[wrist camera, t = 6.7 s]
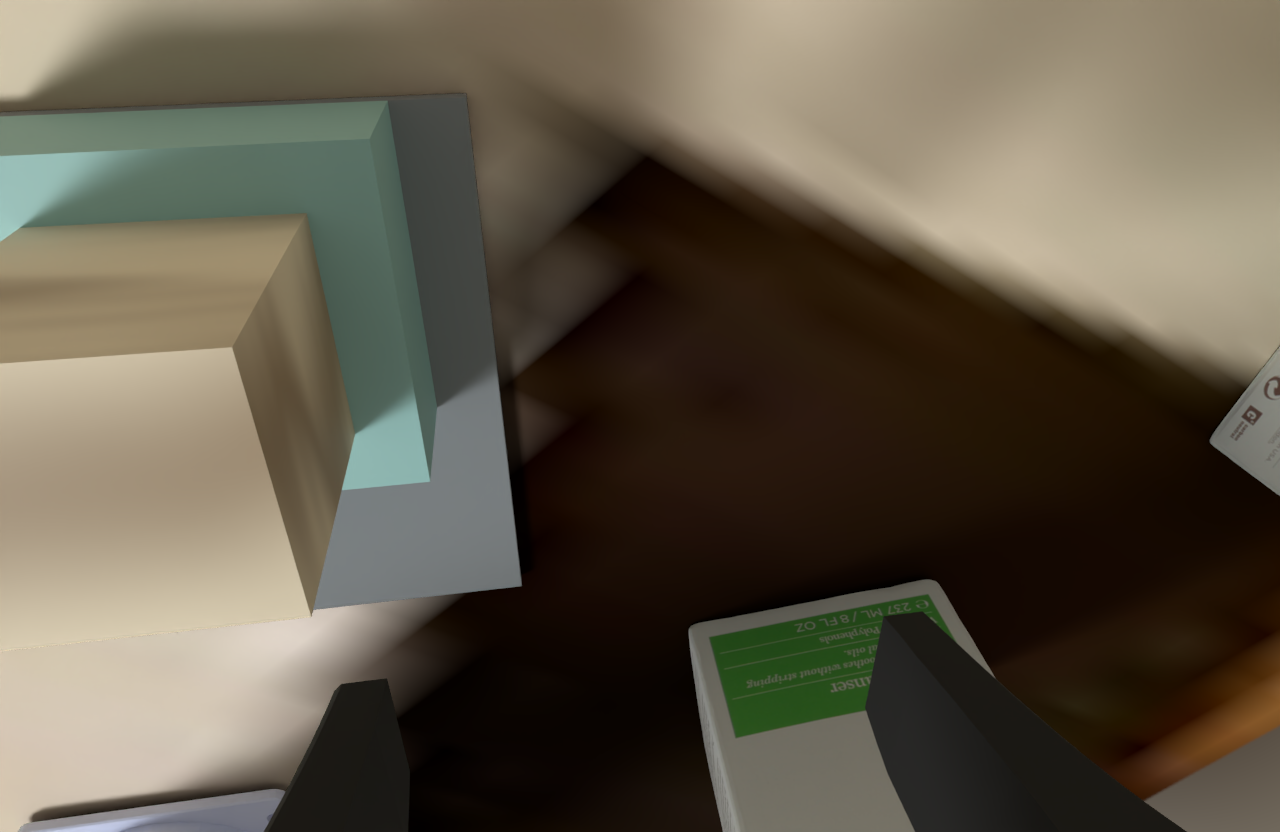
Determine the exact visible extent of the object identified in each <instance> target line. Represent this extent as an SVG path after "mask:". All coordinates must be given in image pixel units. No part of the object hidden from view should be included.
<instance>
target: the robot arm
mask: <svg viewBox="0 0 1280 832" xmlns="http://www.w3.org/2000/svg"><path fill="white" fill-rule="evenodd" d="M865 709H866V712H867V715H868V718H869V721H870V724H871V727H872V730H873V733H874V736H875V739H876V742H877V745H878V748H879V751H880V754H881V756H882V759H883V762H884V765H885V768H886V770H887V773H888V776H889V778H890V780H891V782H892V784H893V786H894V789H895V791H896V793H897V795H898V797H899V799H900V801H901V803H902V805H903V808H904V810H905V812H906V814H907V816H908V818H909V820H910V822H911V824H912V826H913V829H914V831H915V832H1186V831H1185V830H1183V829H1182V828H1181V827H1179V826H1178V825H1176V824H1175V823H1174V822H1172V821H1171V820H1169V819H1168V818H1166V817H1165V816H1164V815H1162V814H1161V813H1159V812H1158V811H1157V810H1155V809H1154V808H1152V807H1151V806H1149V805H1148V804H1147V803H1145V802H1144V801H1143V800H1141V799H1140V798H1138V797H1137V796H1136V795H1134V794H1133V793H1132V792H1130V791H1129V790H1128V789H1126V788H1125V787H1124V786H1122V785H1121V784H1120V783H1119V782H1117V781H1116V780H1115V779H1113V778H1112V777H1111V776H1110V775H1108V774H1107V773H1106V772H1105V771H1103V770H1102V769H1101V768H1100V767H1098V766H1097V765H1096V764H1094V763H1093V762H1092V761H1091V760H1089V759H1088V758H1087V757H1086V756H1084V755H1083V754H1082V753H1081V752H1079V751H1078V750H1077V749H1076V748H1075V747H1073V746H1072V745H1071V744H1070V743H1069V742H1067V741H1066V740H1065V739H1064V738H1063V737H1061V736H1060V735H1059V734H1058V733H1057V732H1055V731H1054V730H1053V729H1052V728H1051V727H1050V726H1049V725H1047V724H1046V723H1045V722H1044V721H1043V720H1042V719H1041V718H1039V717H1038V716H1037V715H1036V714H1035V713H1034V712H1032V711H1031V710H1030V709H1029V708H1028V707H1027V706H1026V705H1024V704H1023V703H1022V702H1021V701H1020V700H1019V699H1017V698H1016V697H1015V696H1014V695H1013V694H1012V693H1011V692H1010V691H1009V690H1007V689H1006V688H1005V687H1004V686H1003V685H1002V684H1001V683H1000V682H999V681H997V680H996V679H995V678H994V677H993V676H992V675H991V674H990V673H989V672H988V671H987V670H985V669H984V668H983V667H982V666H981V665H980V664H979V663H978V662H977V661H976V660H975V659H974V658H972V657H971V656H970V655H969V654H968V653H967V652H966V651H965V650H964V649H963V648H962V647H961V646H960V645H958V644H957V643H956V642H955V641H954V640H953V639H952V638H951V637H950V636H949V635H948V634H947V633H946V632H944V631H943V630H942V629H941V628H940V627H939V626H938V625H937V624H936V623H935V622H934V621H932V620H931V619H930V618H929V617H928V616H927V615H926V614H925V613H924V612H923V611H921V612H913V613H905V614H897V615H889V616H883V621H882V626H881V631H880V636H879V641H878V646H877V651H876V656H875V661H874V666H873V671H872V676H871V681H870V686H869V691H868V696H867V700H866V705H865ZM409 788H410V769H409V765H408V761H407V757H406V753H405V749H404V745H403V741H402V737H401V733H400V729H399V725H398V721H397V717H396V713H395V709H394V705H393V701H392V697H391V693H390V689H389V685H388V681H387V679H379V680H371V681H363V682H355V683H347V684H341V685H340V686H339V687H338V688H337V689H336V690H335V691H334V693H333V696H332V698H331V700H330V703H329V705H328V707H327V710H326V712H325V714H324V716H323V718H322V720H321V723H320V725H319V727H318V729H317V731H316V733H315V735H314V737H313V740H312V742H311V744H310V746H309V748H308V750H307V752H306V754H305V756H304V758H303V760H302V762H301V764H300V765H299V767H298V769H297V771H296V773H295V775H294V777H293V779H292V781H291V783H290V785H289V787H288V788H287V790H286V792H285V791H283V790H280V789H267V790H260V791H253V792H246V793H238V794H231V795H224V796H217V797H210V798H203V799H195V800H188V801H181V802H174V803H167V804H159V805H152V806H145V807H138V808H131V809H123V810H116V811H109V812H102V813H95V814H88V815H80V816H73V817H66V818H59V819H52V820H44V821H37V822H31V823H27V824H24V825H23V826H21V827H20V829H19V831H18V832H408V822H409Z"/></svg>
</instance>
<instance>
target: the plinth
mask: <svg viewBox="0 0 1280 832" xmlns="http://www.w3.org/2000/svg"><path fill="white" fill-rule="evenodd" d="M299 213H307V217H308V222H309V226H310V231H311V235H312V240H313V245H314V249H315V254H316V258H317V263H318V267H319V272H320V276H321V281H322V286H323V290H324V295H325V299H326V304H327V308H328V313H329V317H330V322H331V327H332V331H333V336H334V340H335V345H336V349H337V354H338V358H339V363H340V368H341V372H342V377H343V381H344V386H345V390H346V395H347V399H348V404H349V409H350V413H351V418H352V422H353V427H354V431H355V437H354V441H353V445H352V450H351V454H350V458H349V462H348V466H347V470H346V475H345V479H344V483H343V487H342V490H350V489H360V488H371V487H381V486H391V485H401V484H412V483H422V482H430V478H431V467H432V457H433V446H434V436H435V425H436V414H437V404H436V397H435V391H434V385H433V379H432V373H431V366H430V360H429V354H428V348H427V342H426V336H425V329H424V323H423V317H422V311H421V305H420V298H419V292H418V286H417V280H416V274H415V268H414V261H413V255H412V249H411V243H410V237H409V230H408V224H407V218H406V212H405V206H404V200H403V193H402V187H401V181H400V175H399V169H398V162H397V156H396V150H395V144H394V138H393V132H392V125H391V119H390V113H389V107H388V101H364V102H339V103H315V104H291V105H267V106H243V107H218V108H194V109H170V110H146V111H122V112H97V113H73V114H49V115H25V116H1V117H0V242H1V241H2V240H4V239H5V238H6V237H8V236H9V235H10V234H12V233H13V232H15V231H16V230H17V229H19V228H25V227H45V226H64V225H84V224H103V223H123V222H142V221H162V220H181V219H201V218H220V217H240V216H260V215H279V214H299Z"/></svg>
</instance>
